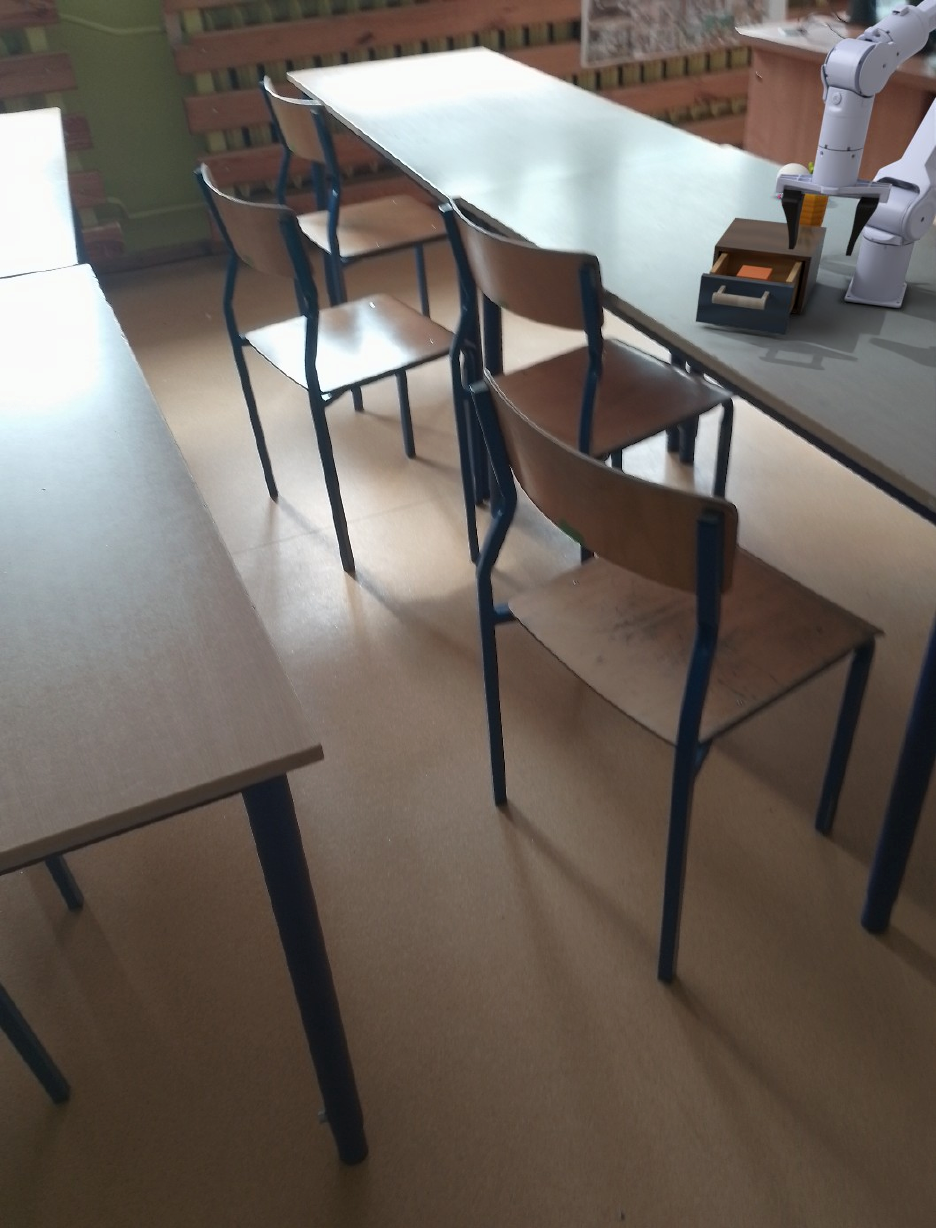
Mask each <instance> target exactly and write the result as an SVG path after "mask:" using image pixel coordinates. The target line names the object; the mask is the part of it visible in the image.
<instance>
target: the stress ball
mask: <svg viewBox="0 0 936 1228" xmlns="http://www.w3.org/2000/svg"><path fill="white" fill-rule="evenodd" d="M809 173H810V171H809V169H808V168H806V167H805V166H804V165H802V164H799V163H794V162H793V163H792V162H791V163H788V164H785V165H783V166H782V167H781V168H780V169H779V171H778V172H777V174H776V179H777V178H778V177H779V175H780V174H789V175H807V174H809ZM782 195H783V193H779V195H777V198H778V199H781V196H782Z"/></svg>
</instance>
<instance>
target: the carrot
mask: <svg viewBox="0 0 936 1228" xmlns="http://www.w3.org/2000/svg"><path fill="white" fill-rule="evenodd" d="M814 165H815V164H814V162H813V161H810V162H809V163H808V171H809V174H813V171H814ZM829 199H830V196H823V195H812V194H805V197H804V201H803V206H802V210H801V215H800V221H799V224H800V225H809V226H818V227H822V226H823V222H824V219H825V216H826V211H827V207H828V202H829Z"/></svg>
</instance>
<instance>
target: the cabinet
mask: <svg viewBox="0 0 936 1228" xmlns="http://www.w3.org/2000/svg"><path fill="white" fill-rule="evenodd" d="M826 233H827V227H826V226H821V227H818V226H809V225H800V224H799V229H798V238H797V242H796V246H795V248H794V249H788V248H789V235H788V226H787V222H779V221H771V220H770V221H769V220H761V219H753V218H743V217H734V219H733V220H732V222H731V223H730V224H729V226H728V227H727V228H726V230H725V231H724V232H723V234H722V236H721V237H720V238H719V240H718V241H717V242H716V243H715V245H714V248H713V249H714V250H713V257H712V265H711V268H712V267H713V266H714V265H715V263H716V262H717V260H718V259H719V257H720V256H721V255H722V253H723V252H732V253H741V254H749V255H758V256H766V257H774V258H783V259H791V260H800V261H804V263H803V269H802V274H801V279H800V285H799V290H798V295H797V300H796V302H795V304H794V306H793V308H792V310H791V312H790V314H796V315H797V314H798V315H801V314H802V312H803V309H805V306H806V304H807V301H808V300H809V298H810V296H811V293H812V291H813V289H814V287H815V285H816V282H817V279H818V273H819V268H820V263H821V259H822V253H823V249H824V243H825V239H826Z"/></svg>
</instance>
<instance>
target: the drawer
mask: <svg viewBox="0 0 936 1228" xmlns="http://www.w3.org/2000/svg"><path fill="white" fill-rule="evenodd" d="M803 263H804V261H800V260H791V259H783V258H774V257H766V256H758V255H749V254H741V253H732V252H723V253H722V255H721V256H720V257H719V259H718V260H717V262H716V263H715V265H714V266H713V267H712V266H711V269H710V271H709V273H706V272H702V274H701V276H700V283H699V292H698V299H697V307H696V314H695V315H696V316H695V322H696V323H703V324H709V325H716V326H722V327H730V328H738V329H742V330H743V329H744V330H752V331H757V332H764V333H770V334H778V335H786V333H787V329H788V326H789V325H788V324H789V318H790V315H791V313H790V312H791V310H792V308H793V306H794V304H795V302H796V300H797V295H798V290H799V285H800V279H801V274H802V269H803ZM743 265H746V266H754V267H762V268H770V269H772V275H771V281H763V280H755V279H747V278H739V277H737V274H738V273H739V271H740V269H741V268H742V266H743Z"/></svg>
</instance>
